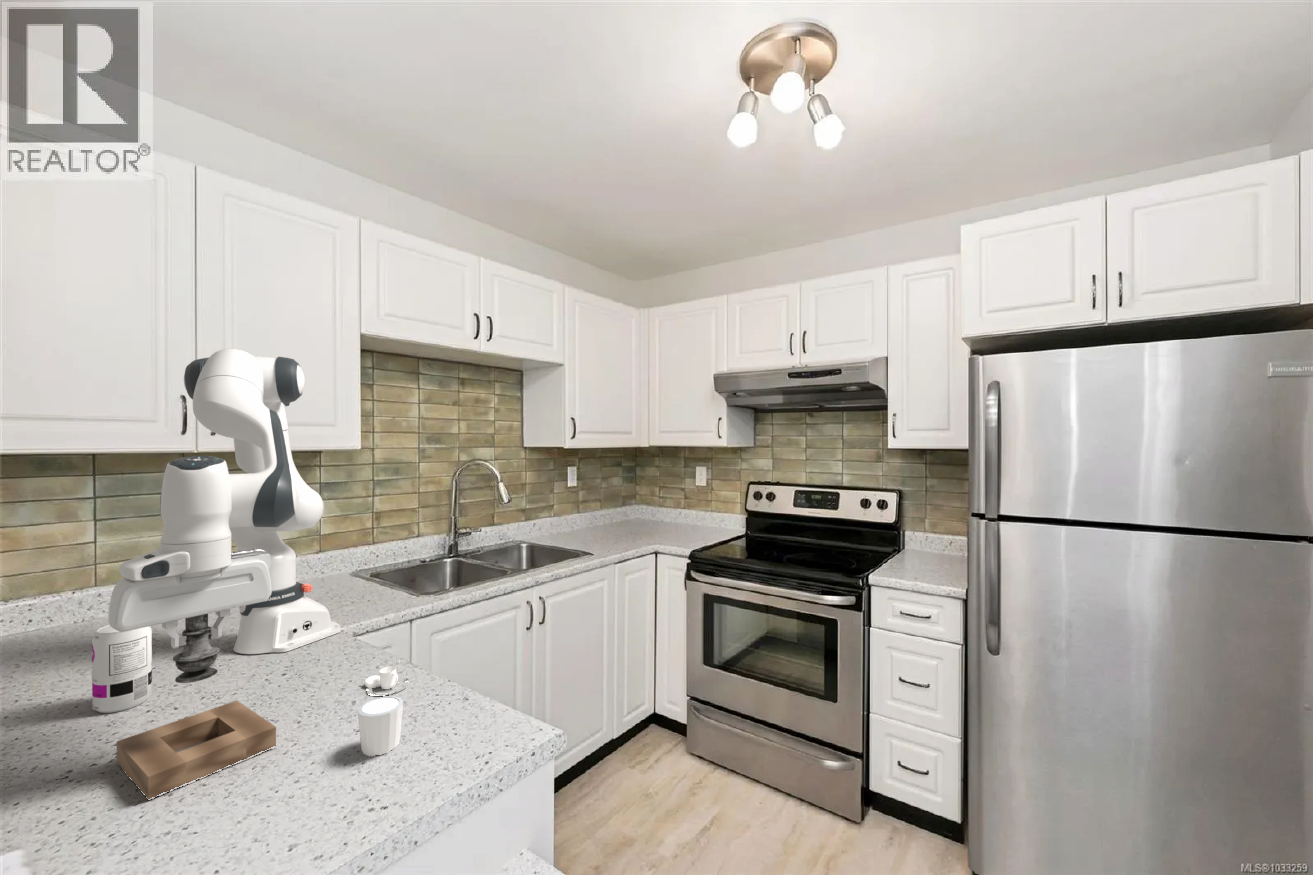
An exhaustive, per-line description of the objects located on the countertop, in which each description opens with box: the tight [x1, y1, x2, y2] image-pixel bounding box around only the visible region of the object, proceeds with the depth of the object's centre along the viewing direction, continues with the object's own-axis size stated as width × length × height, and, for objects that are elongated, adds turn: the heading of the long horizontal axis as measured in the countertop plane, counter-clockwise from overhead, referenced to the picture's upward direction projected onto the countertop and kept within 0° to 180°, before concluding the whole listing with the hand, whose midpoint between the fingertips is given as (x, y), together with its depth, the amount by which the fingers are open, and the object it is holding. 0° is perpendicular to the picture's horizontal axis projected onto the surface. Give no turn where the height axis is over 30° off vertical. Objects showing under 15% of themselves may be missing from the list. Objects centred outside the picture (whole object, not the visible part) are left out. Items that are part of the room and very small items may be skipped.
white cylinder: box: [357, 695, 404, 755], centre depth 92 cm, size 7×7×7 cm
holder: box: [116, 700, 277, 799], centre depth 89 cm, size 16×16×4 cm
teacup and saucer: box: [364, 666, 409, 697], centre depth 113 cm, size 9×8×4 cm
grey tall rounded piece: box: [172, 613, 221, 684], centre depth 89 cm, size 6×6×12 cm
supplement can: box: [91, 624, 153, 714], centre depth 106 cm, size 8×8×15 cm
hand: (196, 642), depth 89 cm, fingers closed on grey tall rounded piece, 3 cm apart
